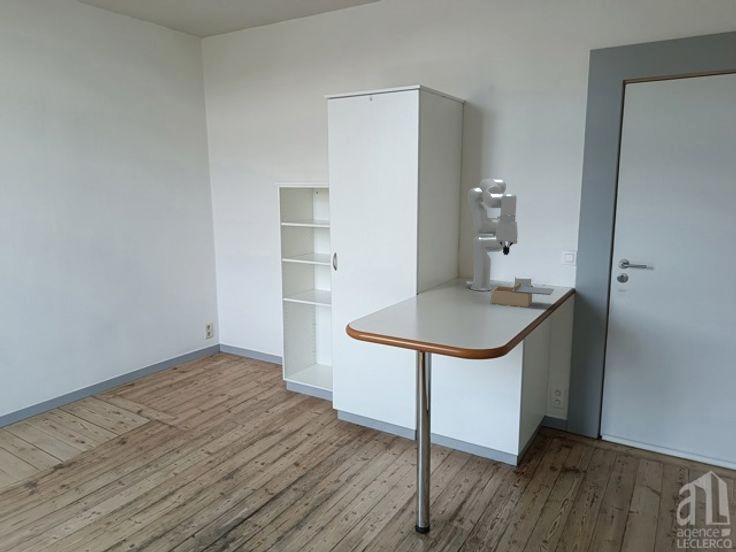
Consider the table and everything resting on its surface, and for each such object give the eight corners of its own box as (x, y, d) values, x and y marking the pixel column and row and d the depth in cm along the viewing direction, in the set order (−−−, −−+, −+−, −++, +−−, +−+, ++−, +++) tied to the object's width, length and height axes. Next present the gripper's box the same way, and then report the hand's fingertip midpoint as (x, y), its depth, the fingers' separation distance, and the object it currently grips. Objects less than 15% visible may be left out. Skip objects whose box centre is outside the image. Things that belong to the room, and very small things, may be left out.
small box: (528, 295, 281) (529, 276, 279) (530, 297, 275) (531, 278, 273) (513, 295, 281) (514, 276, 280) (515, 297, 276) (516, 278, 274)
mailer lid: (511, 291, 253) (511, 286, 253) (516, 286, 266) (516, 281, 266) (550, 295, 245) (550, 289, 245) (553, 289, 258) (554, 284, 258)
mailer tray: (491, 304, 259) (491, 290, 258) (497, 298, 271) (497, 286, 270) (527, 307, 251) (528, 293, 250) (531, 302, 264) (532, 288, 262)
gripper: (491, 218, 256) (489, 254, 259) (521, 219, 250) (519, 256, 253) (494, 218, 263) (492, 253, 266) (524, 218, 256) (522, 254, 259)
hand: (505, 254), depth 259 cm, fingers closed
